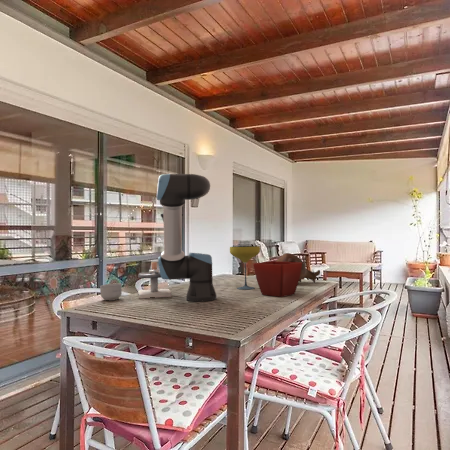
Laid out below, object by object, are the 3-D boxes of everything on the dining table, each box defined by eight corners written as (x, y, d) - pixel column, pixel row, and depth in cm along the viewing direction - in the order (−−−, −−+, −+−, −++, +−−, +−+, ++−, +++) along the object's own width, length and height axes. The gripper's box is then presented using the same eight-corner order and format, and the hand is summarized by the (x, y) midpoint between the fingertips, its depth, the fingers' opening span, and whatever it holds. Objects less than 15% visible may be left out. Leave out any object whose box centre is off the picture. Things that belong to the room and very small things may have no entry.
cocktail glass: (262, 290, 219) (260, 246, 220) (230, 290, 219) (229, 247, 220) (259, 286, 237) (258, 245, 238) (230, 286, 237) (229, 246, 238)
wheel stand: (171, 296, 204) (171, 277, 204) (138, 298, 200) (138, 279, 200) (168, 292, 221) (168, 274, 221) (138, 293, 217) (138, 276, 217)
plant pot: (304, 293, 201) (303, 261, 202) (283, 298, 187) (282, 264, 188) (274, 291, 214) (273, 261, 215) (253, 295, 200) (252, 263, 201)
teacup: (115, 301, 192) (115, 285, 193) (95, 301, 195) (95, 285, 195) (128, 297, 206) (127, 282, 206) (109, 297, 208) (109, 282, 208)
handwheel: (169, 277, 204) (169, 263, 204) (137, 278, 201) (136, 264, 201) (169, 274, 220) (169, 261, 221) (139, 275, 218) (139, 262, 218)
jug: (271, 285, 238) (319, 292, 237) (276, 255, 235) (325, 262, 234) (269, 275, 258) (313, 282, 257) (274, 247, 255) (319, 254, 254)
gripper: (160, 201, 215) (161, 243, 215) (183, 201, 218) (184, 242, 218) (159, 202, 223) (160, 243, 222) (181, 202, 226) (182, 242, 225)
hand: (172, 242), depth 220 cm, fingers closed
